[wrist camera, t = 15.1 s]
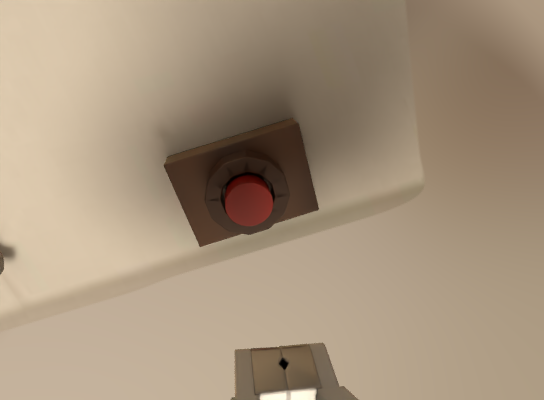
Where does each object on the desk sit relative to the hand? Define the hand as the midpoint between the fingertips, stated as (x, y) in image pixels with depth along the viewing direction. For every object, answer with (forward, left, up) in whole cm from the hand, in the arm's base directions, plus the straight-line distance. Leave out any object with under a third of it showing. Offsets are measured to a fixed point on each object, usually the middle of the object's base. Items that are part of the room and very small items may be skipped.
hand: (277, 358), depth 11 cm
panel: (0, +1, -20) cm, 20 cm away
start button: (0, +1, -16) cm, 16 cm away
